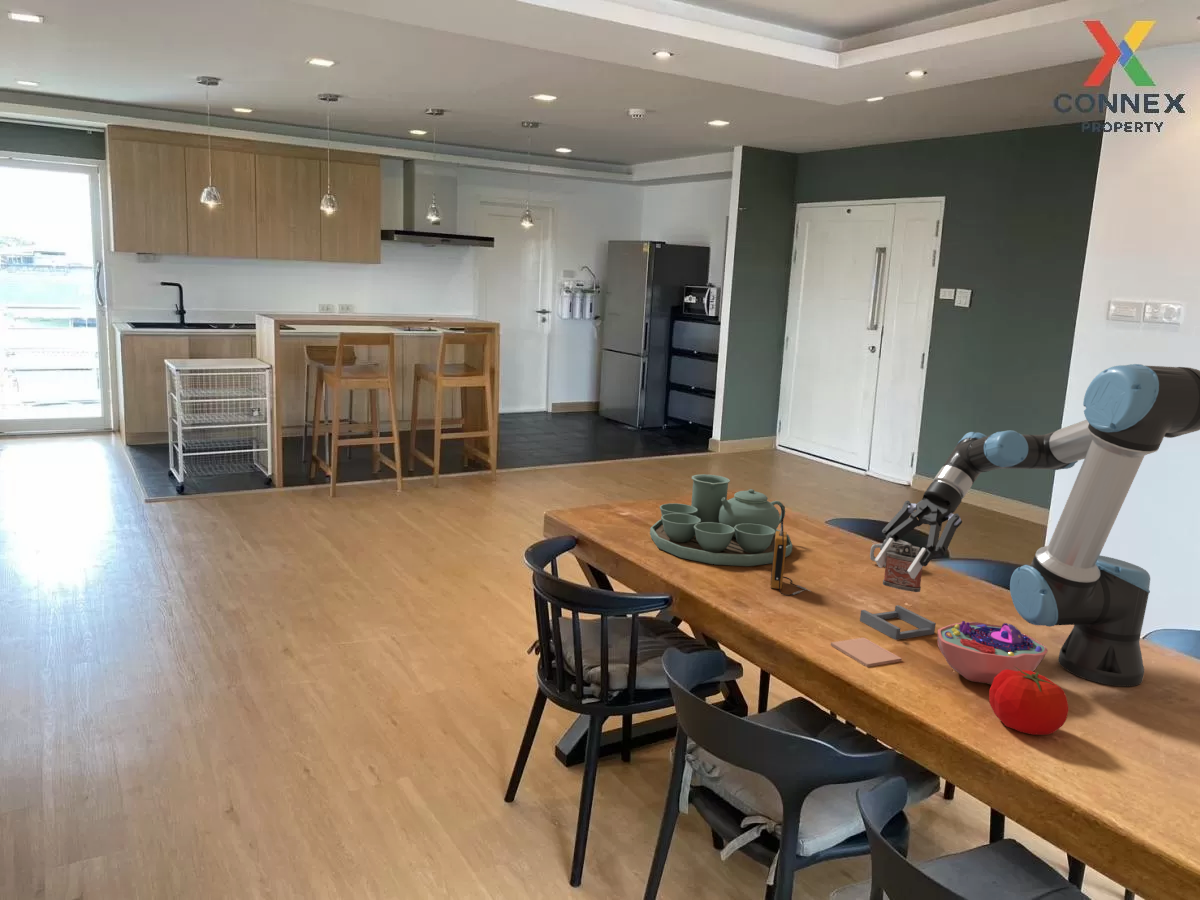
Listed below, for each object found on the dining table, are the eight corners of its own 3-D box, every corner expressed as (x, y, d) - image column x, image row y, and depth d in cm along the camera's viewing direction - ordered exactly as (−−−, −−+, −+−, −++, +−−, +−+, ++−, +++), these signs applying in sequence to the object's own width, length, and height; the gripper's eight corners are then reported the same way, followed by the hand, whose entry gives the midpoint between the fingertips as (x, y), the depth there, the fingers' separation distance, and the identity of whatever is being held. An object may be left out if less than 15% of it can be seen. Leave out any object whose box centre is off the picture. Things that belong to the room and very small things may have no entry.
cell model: (919, 656, 181) (926, 604, 178) (1017, 663, 180) (1025, 611, 178) (948, 694, 164) (957, 637, 162) (1056, 702, 164) (1066, 645, 161)
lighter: (921, 589, 194) (927, 545, 192) (918, 593, 191) (923, 549, 189) (884, 581, 198) (890, 538, 196) (880, 585, 195) (886, 541, 193)
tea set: (622, 538, 251) (625, 482, 248) (712, 519, 278) (717, 468, 275) (730, 578, 223) (736, 515, 220) (820, 552, 250) (826, 496, 247)
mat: (901, 661, 178) (901, 658, 178) (866, 667, 174) (867, 664, 174) (863, 640, 188) (864, 637, 187) (830, 645, 184) (830, 642, 184)
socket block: (934, 633, 193) (935, 623, 193) (895, 640, 189) (897, 629, 188) (897, 615, 203) (898, 605, 203) (859, 620, 198) (861, 610, 198)
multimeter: (812, 599, 211) (821, 518, 207) (770, 594, 212) (778, 514, 209) (810, 579, 225) (818, 504, 221) (770, 575, 227) (778, 499, 223)
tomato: (999, 705, 161) (1008, 652, 159) (1073, 733, 152) (1083, 678, 150) (972, 723, 154) (981, 668, 152) (1048, 753, 145) (1058, 696, 143)
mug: (903, 563, 244) (906, 540, 243) (909, 570, 237) (912, 547, 236) (866, 559, 245) (869, 537, 243) (871, 567, 238) (874, 543, 237)
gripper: (994, 511, 192) (941, 593, 185) (913, 491, 208) (862, 566, 202) (984, 490, 188) (929, 573, 181) (902, 471, 204) (849, 546, 198)
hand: (894, 569), depth 191 cm, fingers closed on lighter, 8 cm apart
